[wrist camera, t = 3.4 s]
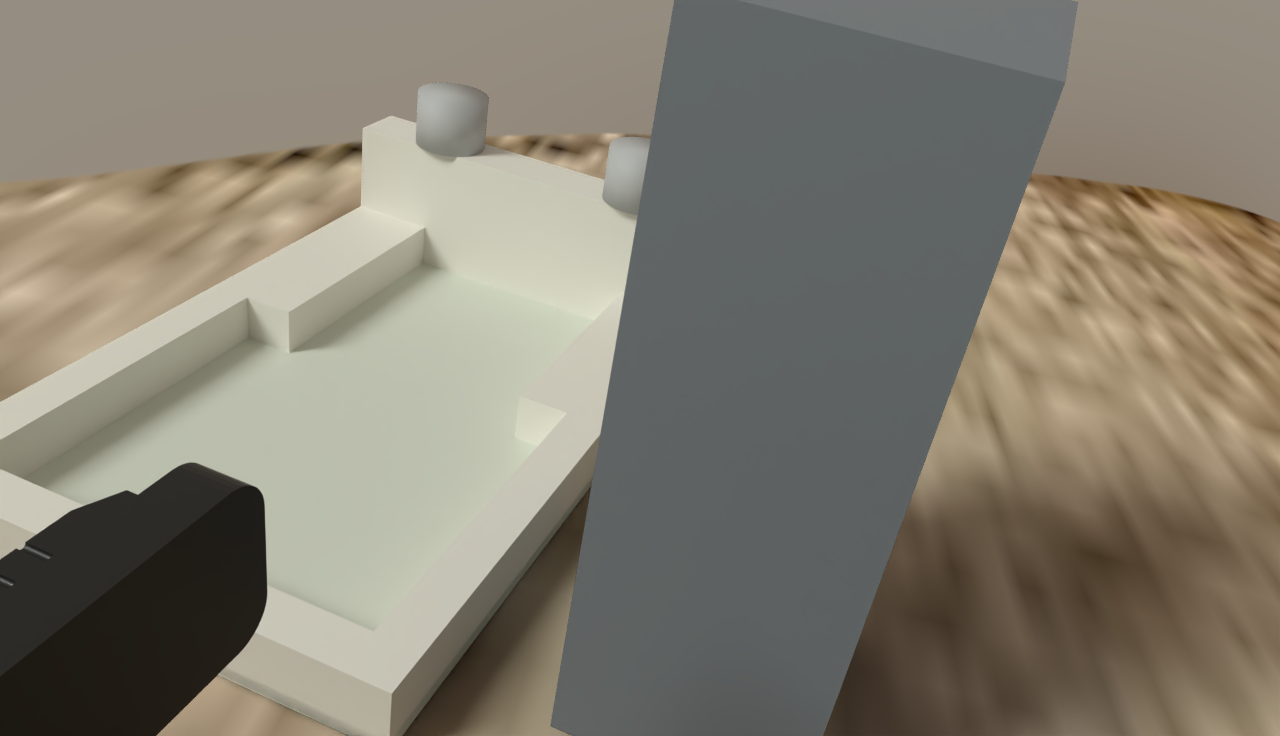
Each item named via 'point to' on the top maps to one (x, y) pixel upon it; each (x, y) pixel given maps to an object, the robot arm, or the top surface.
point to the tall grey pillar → (791, 342)
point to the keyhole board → (370, 406)
